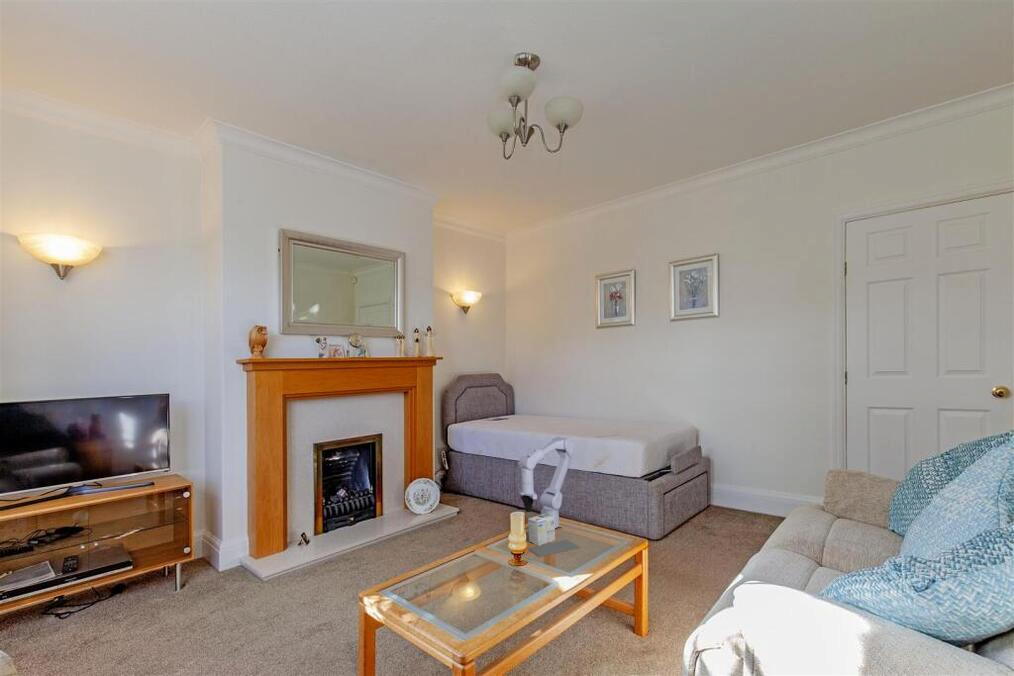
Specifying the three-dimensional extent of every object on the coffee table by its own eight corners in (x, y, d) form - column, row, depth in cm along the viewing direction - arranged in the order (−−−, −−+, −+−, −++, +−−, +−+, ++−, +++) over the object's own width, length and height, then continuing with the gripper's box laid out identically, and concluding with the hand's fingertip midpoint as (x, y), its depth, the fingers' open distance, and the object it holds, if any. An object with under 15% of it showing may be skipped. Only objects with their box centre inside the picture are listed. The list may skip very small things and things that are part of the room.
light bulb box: (545, 536, 221) (544, 512, 222) (555, 540, 216) (554, 515, 217) (528, 542, 214) (527, 518, 215) (538, 546, 209) (537, 521, 210)
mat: (527, 548, 207) (527, 548, 207) (566, 540, 215) (566, 539, 215) (539, 556, 197) (539, 556, 197) (580, 547, 206) (580, 547, 206)
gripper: (513, 480, 233) (513, 509, 231) (527, 486, 219) (528, 516, 218) (526, 478, 236) (526, 507, 234) (540, 484, 222) (541, 514, 221)
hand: (528, 511), depth 227 cm, fingers closed
